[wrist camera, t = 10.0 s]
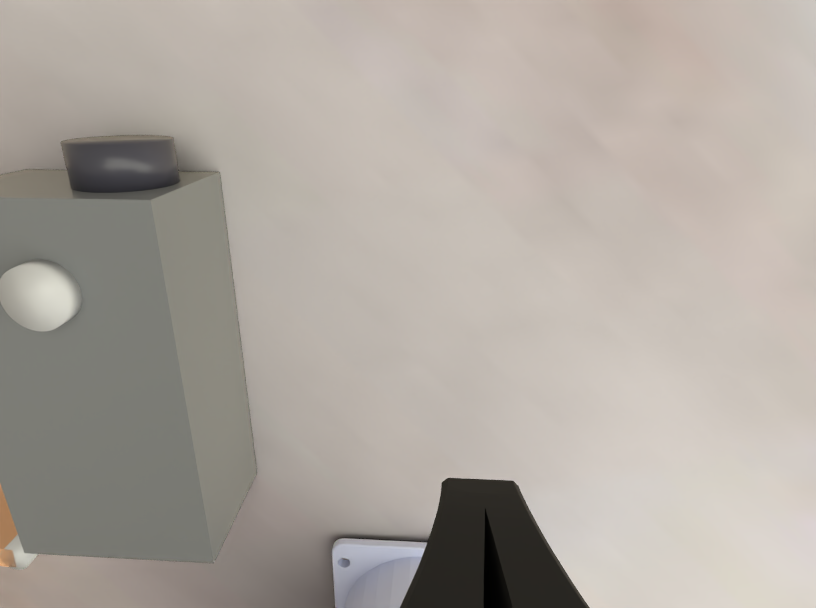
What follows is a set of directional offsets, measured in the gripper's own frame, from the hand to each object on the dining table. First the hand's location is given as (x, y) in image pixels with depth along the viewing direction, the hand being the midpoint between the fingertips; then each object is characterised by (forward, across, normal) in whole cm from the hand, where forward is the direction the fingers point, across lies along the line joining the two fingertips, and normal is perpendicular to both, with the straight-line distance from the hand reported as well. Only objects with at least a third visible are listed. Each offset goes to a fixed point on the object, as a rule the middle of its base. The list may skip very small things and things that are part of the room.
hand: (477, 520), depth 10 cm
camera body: (+9, +11, +1) cm, 15 cm away
